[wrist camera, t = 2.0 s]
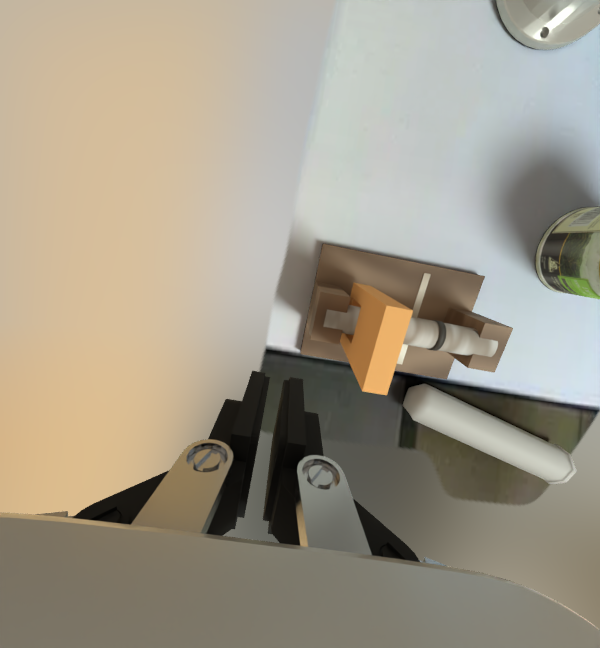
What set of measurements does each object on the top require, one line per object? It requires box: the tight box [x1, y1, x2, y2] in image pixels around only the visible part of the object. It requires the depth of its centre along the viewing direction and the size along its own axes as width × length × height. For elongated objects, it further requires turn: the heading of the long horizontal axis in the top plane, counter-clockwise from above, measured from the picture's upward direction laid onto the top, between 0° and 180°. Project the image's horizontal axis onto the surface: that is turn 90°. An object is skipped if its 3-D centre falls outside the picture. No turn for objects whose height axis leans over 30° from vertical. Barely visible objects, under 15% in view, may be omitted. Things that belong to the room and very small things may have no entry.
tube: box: [403, 384, 576, 484], centre depth 39 cm, size 5×5×25 cm
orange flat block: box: [340, 283, 413, 395], centre depth 27 cm, size 7×2×12 cm, turn 169°
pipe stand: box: [301, 244, 513, 379], centre depth 32 cm, size 14×20×9 cm
